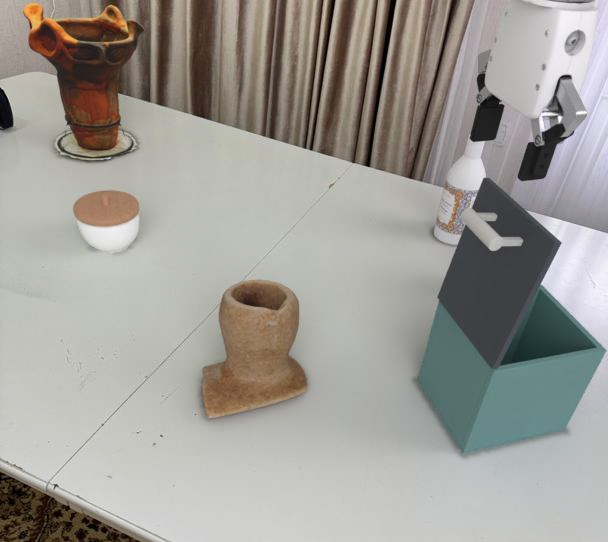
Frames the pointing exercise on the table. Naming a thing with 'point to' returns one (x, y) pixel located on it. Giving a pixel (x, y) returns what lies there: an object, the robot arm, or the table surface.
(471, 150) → the bath foam
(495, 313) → the dark gray box lid
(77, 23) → the decorative vase
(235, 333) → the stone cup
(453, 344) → the teal storage box
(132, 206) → the trinket box
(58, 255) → the table surface
